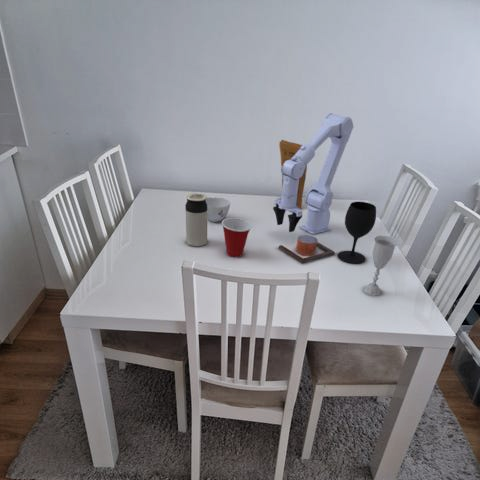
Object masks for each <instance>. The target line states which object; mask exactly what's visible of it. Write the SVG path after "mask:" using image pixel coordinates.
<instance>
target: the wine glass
mask: <svg viewBox="0 0 480 480" xmlns="http://www.w3.org/2000/svg"><path fill="white" fill-rule="evenodd" d="M376 219H377V207H376V205H374V204H373V203H370V202H366V201H352V202H351V203H350V204H349V206H348V208H347V211H346V213H345V217H344V226H345V229H346V230H347V233H348V234H349V235H350V236H351V237H353V242H352V247H351V250H341V251H339V252H338V253H337V258H338V259H339V260H340V261H342V262H343V263H346V264H350V265H361V264H364V263H365V262H366V260H367V259H366V257H365V255H364V254H362V253H360V252H358V251H355V250H356V246H357V242H358V240H359V239H360V238H363V237H364V236H366V235H368V234H369V233H370V232H371V231H372V229H373V228H374V226H375V224H376Z"/></svg>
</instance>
